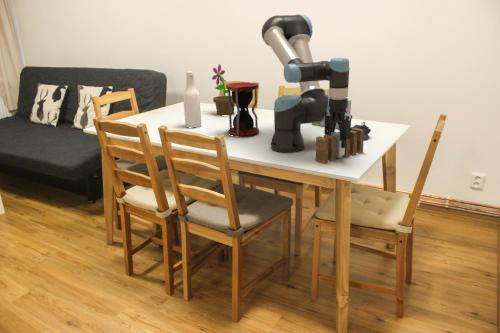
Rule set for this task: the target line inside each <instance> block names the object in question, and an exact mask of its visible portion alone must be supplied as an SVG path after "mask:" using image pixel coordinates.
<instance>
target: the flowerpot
mask: <svg viewBox="0 0 500 333" xmlns="http://www.w3.org/2000/svg"><path fill="white" fill-rule="evenodd" d="M212 70H213V71H212V72H214V75H213V76H212V77H211V80H216V81H215V82H216V83H215V84H216V87H215V88H214V89H215V90H218V91H221V90H222V91H223V95H220V96H215V97H213V98H212V99H213V103H215V109H216V114H218V115H217V116H219V115H230V113H231V111H232V108H231V105H230V104H229V100H228V95H226V94H228V89H226V84H225V80H224V79H225V78H224V77H223V75H224V74H225V73H226V70H223V69H222V65H221V64H218V66H217V68H216V67H213V68H212ZM220 81H221V82H222V84H220ZM230 96H231V103H232V104H233V106H234V107H235V106H236V104H235V103H234V101H233V99H232V95H230ZM232 114H233V115H234V114H235V111H234V112H233V113H232Z"/></svg>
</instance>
